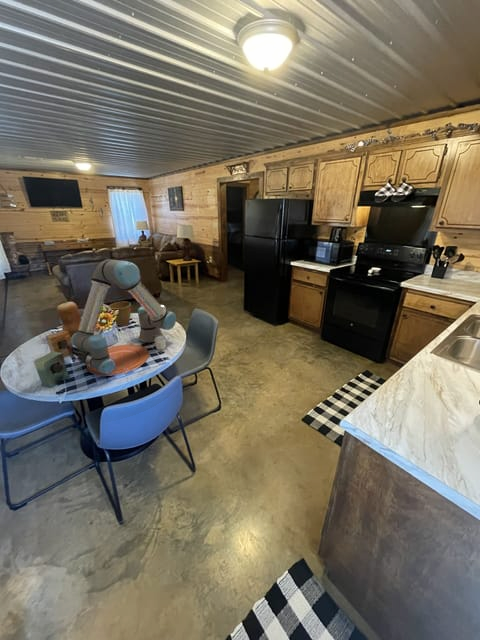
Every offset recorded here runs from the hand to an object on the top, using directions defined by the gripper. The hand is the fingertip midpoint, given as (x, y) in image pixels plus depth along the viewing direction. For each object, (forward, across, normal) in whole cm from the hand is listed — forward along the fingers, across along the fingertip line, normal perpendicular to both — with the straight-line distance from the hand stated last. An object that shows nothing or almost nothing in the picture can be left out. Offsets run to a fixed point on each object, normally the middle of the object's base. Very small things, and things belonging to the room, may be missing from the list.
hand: (68, 347), depth 150 cm
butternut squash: (+28, +17, -8) cm, 34 cm away
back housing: (+10, 0, -8) cm, 13 cm away
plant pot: (+19, +48, -8) cm, 52 cm away
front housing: (-14, -15, -8) cm, 22 cm away
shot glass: (-33, +38, -8) cm, 51 cm away
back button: (+6, 0, -2) cm, 6 cm away
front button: (-17, -14, -2) cm, 23 cm away
